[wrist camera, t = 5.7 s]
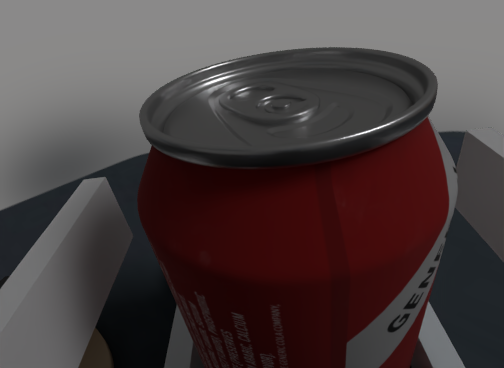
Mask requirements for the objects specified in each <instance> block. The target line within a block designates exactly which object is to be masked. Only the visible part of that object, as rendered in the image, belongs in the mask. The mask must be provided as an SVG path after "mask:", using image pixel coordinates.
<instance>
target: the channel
mask: <svg viewBox="0 0 504 368" xmlns="http://www.w3.org/2000/svg"><path fill="white" fill-rule="evenodd" d="M411 366H412V368H465V367H464V365H463V363H462V361H461V359H460V357H459V356H458V354H457V352H456V350H455V348H454V347H453V345H452V343H451V341H450V339H449V338H448V336H447V334H446V332H445V330H444V329H443V327H442V325H441V323H440V321H439V320H438V318H437V316H436V314H435V312H434V311H433V309H432V307H431V305H430V303H429V302H428V304H427V308H426V311H425V315H424V319H423V322H422V326H421V329H420V333H419V336H418V340H417V343H416V347H415V351H414V354H413V358H412V361H411ZM164 368H204V365H203V363H202V360H201V358H200V356H199V354H198V351H197V349H196V347H195V344H194V342H193V340H192V338H191V335H190V333H189V331H188V328H187V326H186V324H185V322H184V319H183V317H182V315H181V312H180V310H179V308H178V306H176V311H175V316H174V321H173V326H172V331H171V336H170V341H169V346H168V350H167V355H166V360H165V365H164Z"/></svg>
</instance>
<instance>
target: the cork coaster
mask: <svg viewBox="0 0 504 368" xmlns="http://www.w3.org/2000/svg"><path fill="white" fill-rule="evenodd" d="M78 368H114V361H113V357H112V353H111V351H110V348H109V346H108V344H107V342H106V341H105V340H104V338H103V337H102V336H101V334H100V333H99V331H98V330H97V329H96V328H95V329H94V331H93V333H92V336H91V338H90V340H89V343H88V345H87V348H86V350H85V352H84V355H83V357H82V360H81V362H80V364H79V367H78Z"/></svg>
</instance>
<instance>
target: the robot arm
mask: <svg viewBox="0 0 504 368" xmlns="http://www.w3.org/2000/svg"><path fill="white" fill-rule="evenodd" d="M456 171H457V175H458V194H457V200H456V204H455V208H456V209H457V210H458V211H459V212H460V213H461V214H462V215H463V217H464V218H465V219H466V220H467V221H468V222H469V223H470V224H471V226H472V227H473V228H474V229H475V230H476V231H477V232H478V234H479V235H480V236H481V237H482V238H483V239H484V240H485V241H486V243H487V244H488V245H489V246H490V247H491V248H492V249H493V250H494V252H495V253H496V254H497V255H498V256H499V257H500V258H501V260H502V261H503V262H504V135H503V134H501V133H499V132H498V131H496V130H495V129H493V128H492V127H488V128H480V129H473V130H466V132H465V136H464V140H463V144H462V148H461V152H460V156H459V159H458V163H457V167H456ZM132 238H133V235H132V232H131V230H130V228H129V226H128V224H127V222H126V220H125V218H124V215H123V213H122V211H121V209H120V207H119V205H118V203H117V201H116V198H115V196H114V194H113V192H112V190H111V188H110V186H109V184H108V181H107V179H106V177H102V178H94V179H86V180H83V182H82V183H81V184H80V185H79V187H78V188H77V189H76V191H75V192H74V193H73V195H72V196H71V197H70V199H69V200H68V201H67V202H66V204H65V205H64V206H63V208H62V209H61V210H60V212H59V213H58V214H57V216H56V217H55V218H54V219H53V221H52V222H51V223H50V225H49V226H48V227H47V229H46V230H45V231H44V232H43V234H42V235H41V236H40V238H39V239H38V240H37V242H36V243H35V244H34V246H33V247H32V248H31V249H30V251H29V252H28V253H27V255H26V256H25V257H24V259H23V260H22V261H21V263H20V264H19V265H18V266H17V268H16V269H15V270H14V272H13V273H12V274H11V276H7V277H4V278H3V279H2V280H1V281H0V368H78V367H79V364H80V362H81V360H82V357H83V355H84V352H85V350H86V348H87V345H88V343H89V340H90V338H91V336H92V333H93V331H94V329H95V326H96V324H97V321H98V319H99V317H100V314H101V312H102V309H103V307H104V305H105V302H106V300H107V297H108V295H109V293H110V290H111V288H112V286H113V283H114V281H115V278H116V276H117V274H118V271H119V269H120V266H121V264H122V262H123V259H124V257H125V255H126V252H127V250H128V247H129V245H130V243H131V240H132Z"/></svg>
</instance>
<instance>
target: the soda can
mask: <svg viewBox="0 0 504 368" xmlns="http://www.w3.org/2000/svg"><path fill="white" fill-rule="evenodd" d="M437 85H438V84H437V79H436V76H435V75H434V73H433V72H432V71H431V70H430V69H429V68H428V67H426V66H425V65H424V64H422V63H420V62H418V61H416V60H414V59H412V58H409V57H406V56H403V55H399V54H395V53H391V52H386V51H380V50H372V49H362V48H340V47H339V48H337V47H336V48H335V47H329V48H306V49H293V50H285V51H276V52H269V53H263V54H257V55H252V56H247V57H242V58H238V59H233V60H229V61H225V62H222V63H218V64H215V65H211V66H208V67H205V68H202V69H199V70H196V71H194V72H191V73H189V74H186V75H184V76H181V77H179V78H177V79H175V80H173V81H171V82H169V83H167V84H166V85H164V86H162V87H161V88H160V89H158V90H157V91H155V92H154V93H153V94H152V95H151V96H150V97H149V98H148V99H147V100H146V101H145V103H144V104H143V106H142V108H141V110H140V114H139V117H140V124H141V127H142V129H143V132H144V134H145V136H146V138H147V140H148V141H149V142H150V144H151V145H152V147H151V150H150V153H149V156H148V159H147V163H146V166H145V169H144V172H143V175H142V178H141V182H140V185H139V190H138V198H137V201H138V212H139V216H140V220H141V223H142V226H143V228H144V230H145V233H146V235H147V237H148V239H149V242H150V244H151V246H152V249H153V251H154V253H155V255H156V258H157V260H158V262H159V265H160V267H161V269H162V271H163V274H164V276H165V278H166V281H167V283H168V285H169V287H170V290H171V292H172V294H173V297H174V299H175V301H176V303H177V306H178V308H179V310H180V312H181V315H182V317H183V319H184V322H185V324H186V326H187V328H188V331H189V333H190V335H191V338H192V340H193V342H194V344H195V347H196V349H197V351H198V354H199V356H200V358H201V360H202V363H203V365H204V367H205V368H410V365H411V361H412V358H413V354H414V351H415V347H416V343H417V340H418V336H419V333H420V329H421V326H422V322H423V319H424V315H425V311H426V308H427V304H428V301H429V297H430V294H431V290H432V286H433V283H434V279H435V276H436V272H437V269H438V265H439V262H440V258H441V254H442V251H443V247H444V244H445V240H446V237H447V233H448V229H449V226H450V222H451V219H452V215H453V212H454V208H455V204H456V200H457V194H458V175H457V171H456V167H455V164H454V161H453V159H452V157H451V155H450V153H449V151H448V149H447V147H446V146H445V144H444V142H443V141H442V139H441V137H440V135H439V134H438V132H437V130H436V129H435V127H434V125H433V124H432V122H431V120H430V118H429V117H428V115H429V114H430V112H431V110H432V108H433V106H434V103H435V100H436V95H437Z"/></svg>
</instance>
